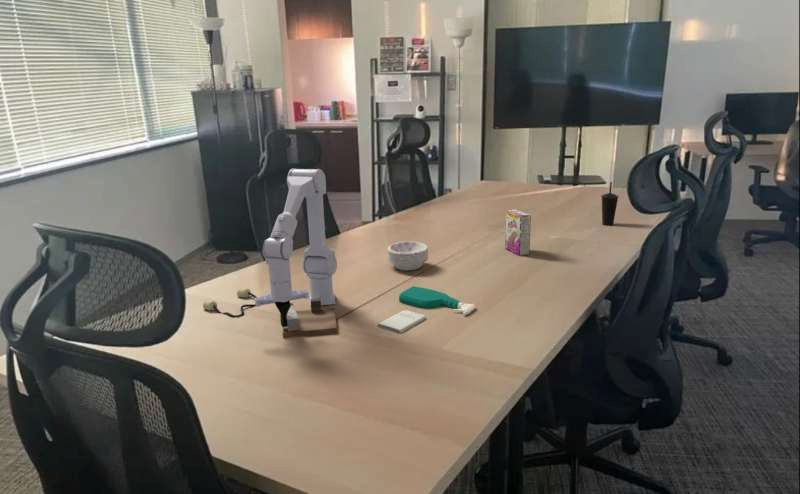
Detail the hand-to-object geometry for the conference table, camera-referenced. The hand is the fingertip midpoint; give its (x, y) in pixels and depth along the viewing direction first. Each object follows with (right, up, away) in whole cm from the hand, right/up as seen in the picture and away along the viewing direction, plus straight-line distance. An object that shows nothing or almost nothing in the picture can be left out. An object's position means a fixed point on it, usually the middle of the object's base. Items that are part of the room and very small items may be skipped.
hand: (284, 325), depth 158 cm
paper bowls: (+36, +14, +55) cm, 67 cm away
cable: (-20, +3, +23) cm, 30 cm away
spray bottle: (+44, +4, +19) cm, 48 cm away
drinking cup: (+130, +33, +106) cm, 171 cm away
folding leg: (+1, +1, +4) cm, 4 cm away
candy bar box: (+80, +20, +69) cm, 107 cm away
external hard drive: (+33, -1, +6) cm, 34 cm away
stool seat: (+6, -1, +6) cm, 9 cm away
